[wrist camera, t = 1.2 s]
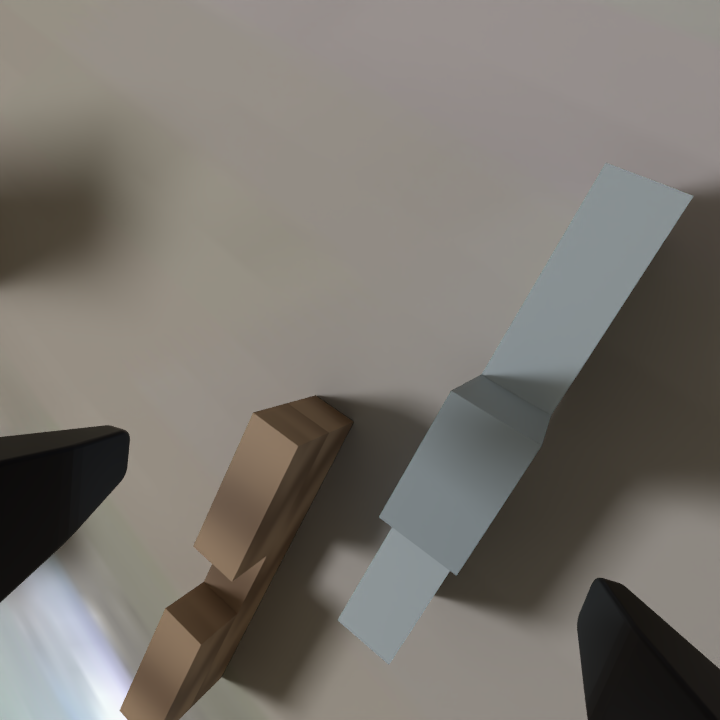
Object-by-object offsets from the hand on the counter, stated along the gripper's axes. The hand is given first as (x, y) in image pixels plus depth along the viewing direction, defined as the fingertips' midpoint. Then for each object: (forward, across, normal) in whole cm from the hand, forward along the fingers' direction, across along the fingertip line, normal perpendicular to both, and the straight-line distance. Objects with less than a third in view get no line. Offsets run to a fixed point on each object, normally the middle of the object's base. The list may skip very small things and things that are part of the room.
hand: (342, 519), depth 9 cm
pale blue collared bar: (+12, -4, +1) cm, 13 cm away
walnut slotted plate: (+14, +5, +12) cm, 19 cm away
